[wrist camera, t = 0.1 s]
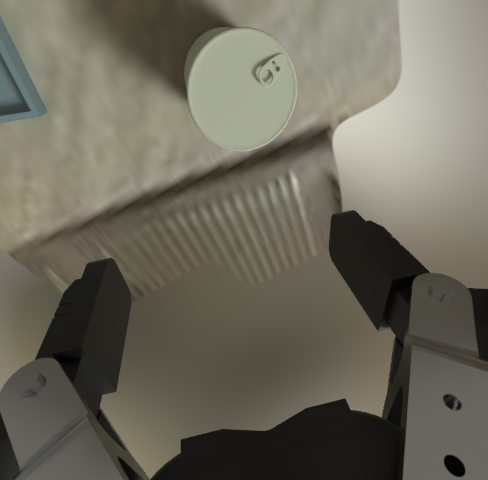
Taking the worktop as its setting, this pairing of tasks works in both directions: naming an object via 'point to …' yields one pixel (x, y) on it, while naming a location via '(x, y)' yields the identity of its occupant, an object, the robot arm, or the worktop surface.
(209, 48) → the can
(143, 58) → the worktop surface
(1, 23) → the tray
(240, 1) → the worktop surface
